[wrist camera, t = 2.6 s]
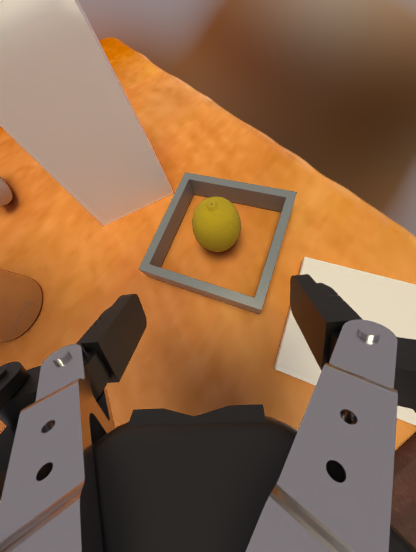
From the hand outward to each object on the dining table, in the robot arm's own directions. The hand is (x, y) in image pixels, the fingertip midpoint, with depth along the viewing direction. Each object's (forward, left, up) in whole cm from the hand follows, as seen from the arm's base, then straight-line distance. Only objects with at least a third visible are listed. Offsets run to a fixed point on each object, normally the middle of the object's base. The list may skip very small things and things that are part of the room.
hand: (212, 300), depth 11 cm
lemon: (-5, +10, -14) cm, 18 cm away
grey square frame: (-5, +10, -14) cm, 18 cm away
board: (+12, +4, -14) cm, 19 cm away
